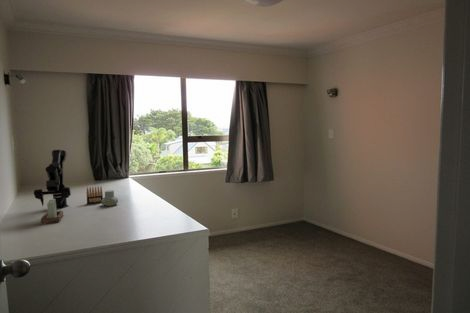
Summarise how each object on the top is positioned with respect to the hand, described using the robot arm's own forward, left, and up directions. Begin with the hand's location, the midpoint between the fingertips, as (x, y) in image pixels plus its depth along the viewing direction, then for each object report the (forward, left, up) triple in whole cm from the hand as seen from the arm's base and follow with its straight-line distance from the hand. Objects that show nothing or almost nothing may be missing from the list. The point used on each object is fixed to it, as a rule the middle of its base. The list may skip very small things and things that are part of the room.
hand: (51, 204), depth 191 cm
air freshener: (-40, +9, -9) cm, 41 cm away
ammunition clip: (-43, -6, -9) cm, 44 cm away
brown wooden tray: (0, 0, -9) cm, 9 cm away
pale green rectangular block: (0, 0, -8) cm, 8 cm away
